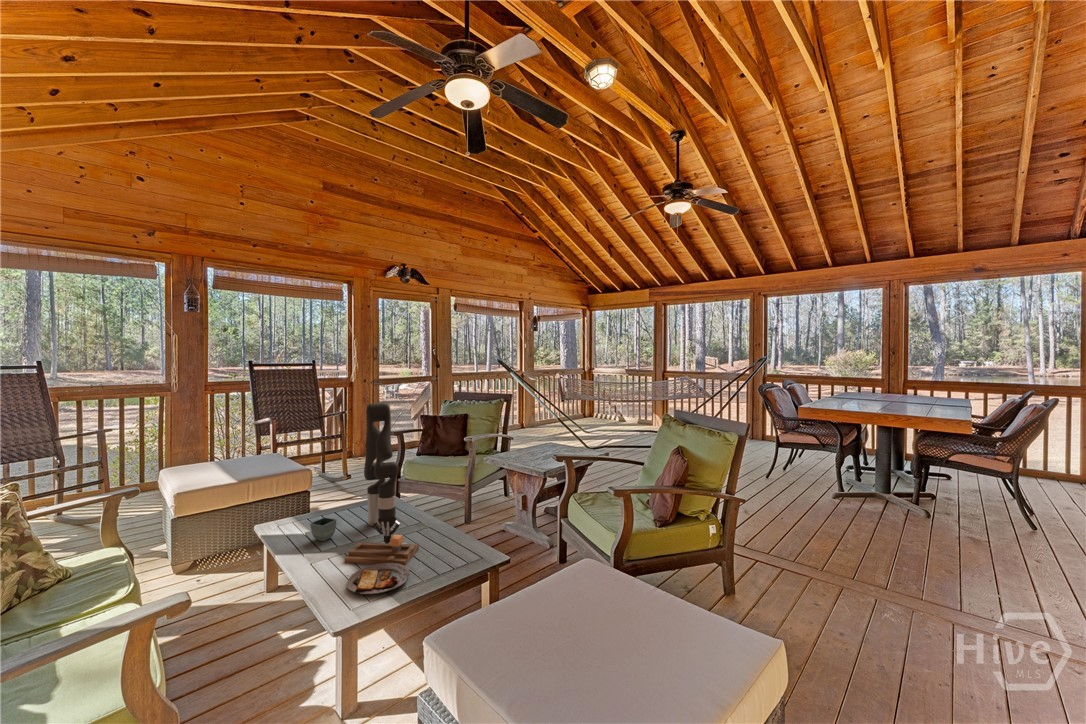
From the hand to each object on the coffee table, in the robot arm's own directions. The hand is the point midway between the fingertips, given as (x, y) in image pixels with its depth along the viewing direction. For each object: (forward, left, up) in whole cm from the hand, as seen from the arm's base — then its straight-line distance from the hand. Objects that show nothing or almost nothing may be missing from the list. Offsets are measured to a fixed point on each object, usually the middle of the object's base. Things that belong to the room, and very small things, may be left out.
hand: (387, 542), depth 203 cm
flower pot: (-14, -40, -6) cm, 43 cm away
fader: (0, +4, -4) cm, 6 cm away
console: (0, -2, -6) cm, 7 cm away
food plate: (+22, +7, -7) cm, 24 cm away
